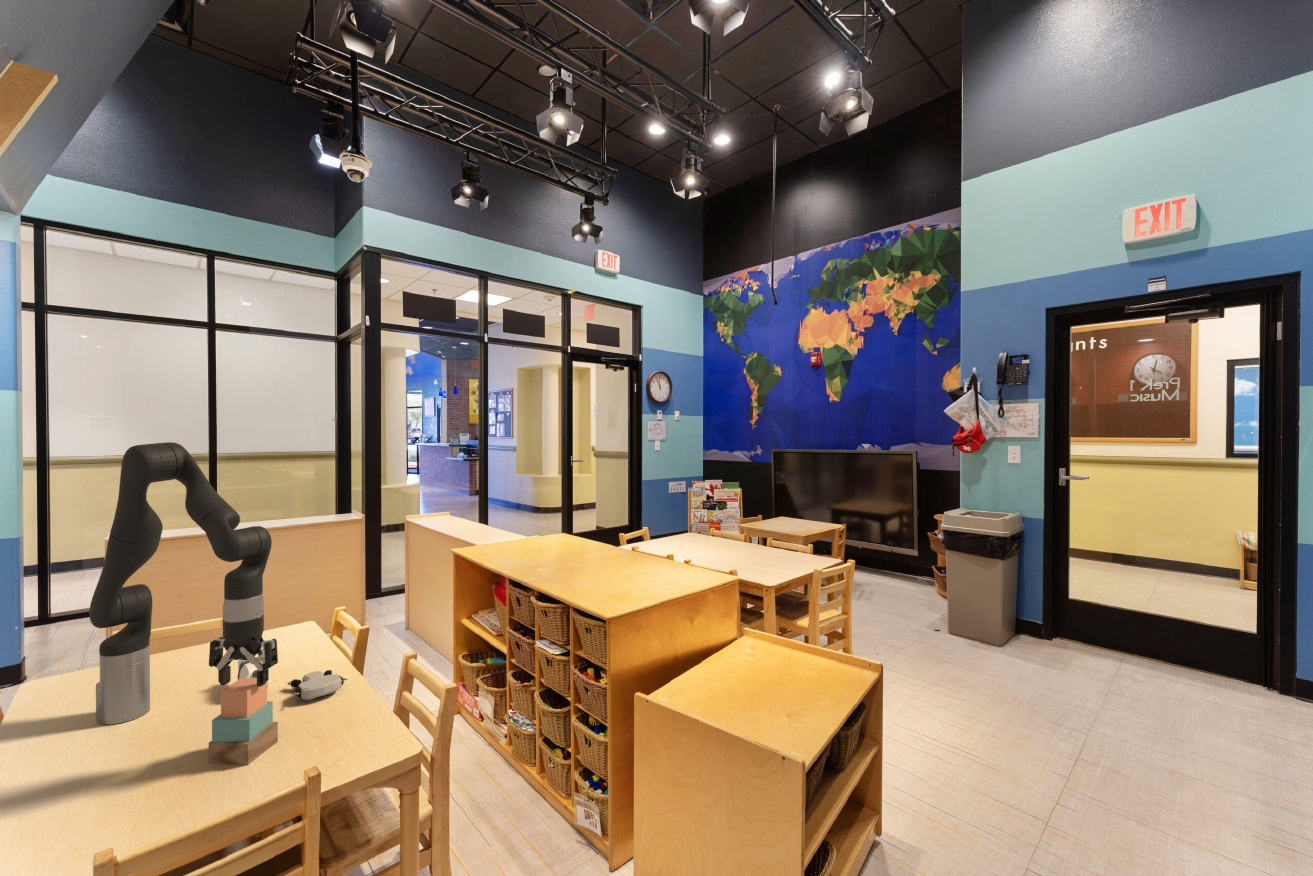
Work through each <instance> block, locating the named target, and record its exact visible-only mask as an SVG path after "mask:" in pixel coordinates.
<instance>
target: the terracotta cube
mask: <svg viewBox="0 0 1313 876" xmlns="http://www.w3.org/2000/svg"><path fill="white" fill-rule="evenodd" d="M267 701H268V687H267V682H266V684H264V685H263V686H261V687H258V686H257V679H254V678H241V679H240V680H238V679H237V680H236V681H235V682H233V683H231V684H230V685H228V686H227V687H224V688H223V689H221V690H220V714H221V717H241V718H247V717H249V716H250V715H252V714H253V713H255V712H256V711H257V710H259V709H260V708H262V707H263V706H265V705H266V704H267Z"/></svg>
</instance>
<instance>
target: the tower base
mask: <svg viewBox="0 0 1313 876" xmlns="http://www.w3.org/2000/svg"><path fill="white" fill-rule="evenodd" d="M278 724H279V723H278V721H273V722H272V723H271V724H270V725H268V726H267V727H266V728H265V729H264V730H263V731H261V732H260V733H259V734H258V735H257V736H256V737H254V738H253V739H252V740H251V741H250V742H212V740H211V741H209V742H208V765H229V766H231V765H235V766H249V765H250V764H251V763H253V762H254V761H255V760H257V759H258V758H259V757H260V756H261V755H263V754H264V753H266V751H268V750H269V749H270V748H271V747H273V746H274V745H276V744H277V743H278V738H279V737H278V735H279V734H278V733H279V731H278V728H279V727H278Z"/></svg>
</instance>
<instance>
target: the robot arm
mask: <svg viewBox="0 0 1313 876" xmlns="http://www.w3.org/2000/svg"><path fill="white" fill-rule="evenodd" d="M119 477H120V478H119V487H118V488H119V489H118V497H117V498H118V499H117V504H116V508H115V512H114V517H113V521H112V525H111V527H110V531H109V532H110V533H109V536H108V539H107V540H108V541H107V546H106V550H105V557H104V561H103V565H102V570H101V573H100V575H99V579H98V581H97V584H96V587H95V590H94V591H93V595H92V597H91V601H90V606H89V610H88V611H89V620H90V624H91V625H92V626H94V627H95V628H97V629H106V628H112V627H116V626H120V625H125V624H126V625H125V626H124V627H123V628H122V629H121V630H119V631H117V632H116V633H114V634H112V635H111V636H108V637H107V638H106V639H104V640H102V642H101V643H100V644H99V649H98V652H99V681H98V682H97V683H96V685H95V721H96V720H98V722H100V724H101V725H116V724H122V723H126V722H130V721H133V720H135V719H137V718H140V717H142V716H144V715H146V714H147V713H148V712H149V711H150V710H151V665H150V664H151V658H150V657H151V653H150V651H151V650H150V648H151V646H150V642H151V641H150V639H151V635H152V634H151V633H152V618H153V617H152V616H153V615H152V613H153V594H152V591H151V589H150V587H149V586H148V585H146V584H143V583H139V584H133V585H128V586H124V584H126V583H127V581H128V580H129V579H130V577H131V576H133V575H134V574H135V573H136V572H137V571H138V570H139V569H140V568H142V567H143V566H144V565H146V563H148V561H150V559H152V557H153V556H154V555H155V553H156V552H157V551H158V548H159V545H160V541H161V538H162V534H163V527H164V525H163V522H162V520H161V518H160V517H159V515H158V514H157V513H156V511H155V509H153V508H152V507H151V505H150V504H149V502H148V500H147V496H148V495H147V494H148V489H149V486H150V485H151V484H153V483H159V482H166V481H167V482H168V481H172V480H176V481H178V482H180V483H181V484H182V485H183V486H184V487H185V491H186V492H185V500H184V506H185V510H186V512H187V514H188V516H189V517H190V519H191V520H192V521H193V522H194V523H195V524H196V525H197V526H198V527H200V529H201V530H202V531H204V533H205V535H206V537H207V539H208V542H209V543H210V546H211V548H212V551H213V552H214V553H213V554H215V556H216V557H217V558H218V559H220V560H221V561H223V562H226V563H227V562H228V563H235V562H238V561H241V563H240V565H239V566H237V567H236V568H234V569H232V570H230V571H229V572H227V573H226V575H225V576H224V581H223V585H224V586H223V593H224V594H223V595H224V596H223V598H224V599H223V605H222V636H219V637H218V638H216V639H213V640H212V641H210V642H209V654H208V655H209V656H208V666H209V667H211V668H212V667H214V668H216V670H218V673H217V675H218V683H219V685H220V686H225V685H226V686H227V684H229V683H230V682H231V677H232V676H231V672H232V671H231V668H232V667H231V663H232V662H233V661H239V659H241V660H249V662H250V663H251V664H254V665H255V667H256V668H257V669H258V671H257V686H258V687H261V686H263V685H264V684H266V682H267V681H268V679H269V680H270V677H268V676H269V675H270V674H269V669H271V668H272V667H274V666H275V665H277V664H278V663H279V658H278V655H279V653H278V641H277V638H272V639H270V640H269V639H268V640H264V639H263V634H264V633H263V632H264V631H265V600H264V594H263V593H264V590H263V589H264V588H263V580H264V579H263V576H264V572H265V570H266V567H267V563H268V560H269V557H270V554H271V551H272V544H273V543H272V541H273V540H272V536H271V534H270V532H269V530H268V529H267V528H266V527H264V526H260V525H255V526H254V525H253V526H249V527H244V528H242V527H241V528H238V529H236V528H237V527H238V526H239V524H240V522H241V516H240V514H239V513H238V512H237V511H236V510H235V509H234V508H233V506H231V505H230V504H229V503H228V502H227V501H226V500H225V499H224V498H223V497H221V495H220V494H219V493H218V492H217V491H216V490H215V489H214V487H213V486H212V484H211V483H210V482H209V480H208V479H207V477H206V475H205V473H204V472H203V471H202V469H201V468H200V466H199V465H198V463H197V462H196V460H195V459H194V457H192V455H191V454H190V451H188V450H187V449H186V448H185V447H184V446H183V445H182V444H180V443H177V442H172V441H171V442H170V441H169V442H157V443H144V444H138V445H133V446H131V447H128V448H127V450H126V451H125V453H124V454H123V457H122V460H121V468H120V476H119ZM224 649H225V651H226V652H225V653H224ZM256 655H258V656H257V657H256ZM260 661H261V662H262V663H261V662H260Z"/></svg>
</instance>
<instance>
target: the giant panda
mask: <svg viewBox="0 0 1313 876" xmlns="http://www.w3.org/2000/svg"><path fill="white" fill-rule="evenodd" d="M260 662H261V661H260ZM261 663H262V662H261ZM237 668H238V671H237V681H238V680H240V679H241V678H254V679H257V671H258V669H257V668H256V667H255V665H254V664H251V663H250V662H249V660H241V659H239V660H237ZM268 677H269V676H268ZM269 682H270V677H269V679H268V681H267V688H268V686H269Z"/></svg>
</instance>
